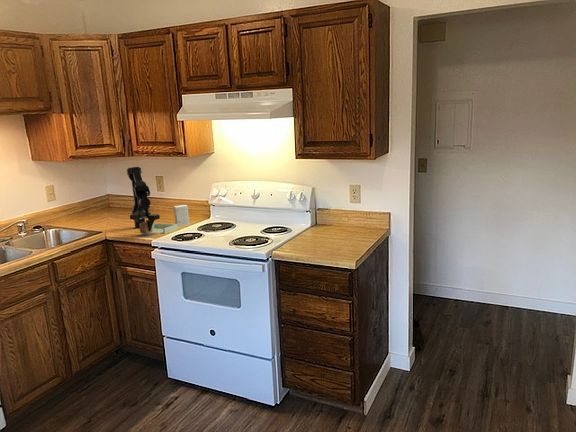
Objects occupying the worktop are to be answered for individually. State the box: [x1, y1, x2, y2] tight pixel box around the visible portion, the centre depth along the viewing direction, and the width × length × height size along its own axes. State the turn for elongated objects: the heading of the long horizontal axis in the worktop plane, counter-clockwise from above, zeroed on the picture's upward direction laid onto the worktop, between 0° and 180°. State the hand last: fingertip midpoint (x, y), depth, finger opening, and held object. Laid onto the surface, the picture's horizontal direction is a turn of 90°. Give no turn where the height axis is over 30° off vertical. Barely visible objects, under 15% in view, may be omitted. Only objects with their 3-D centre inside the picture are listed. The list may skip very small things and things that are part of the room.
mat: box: [136, 232, 159, 238], centre depth 285 cm, size 10×9×1 cm
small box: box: [173, 204, 191, 228], centre depth 306 cm, size 8×6×13 cm
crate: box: [151, 222, 179, 234], centre depth 295 cm, size 18×12×3 cm, turn 64°
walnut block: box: [139, 221, 153, 234], centre depth 284 cm, size 5×5×6 cm
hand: (146, 230), depth 285 cm, fingers closed on walnut block, 5 cm apart
